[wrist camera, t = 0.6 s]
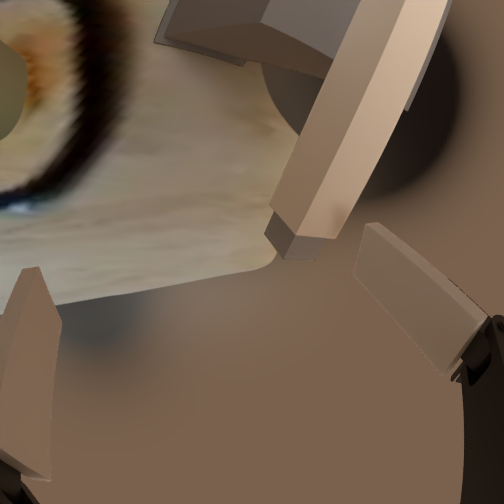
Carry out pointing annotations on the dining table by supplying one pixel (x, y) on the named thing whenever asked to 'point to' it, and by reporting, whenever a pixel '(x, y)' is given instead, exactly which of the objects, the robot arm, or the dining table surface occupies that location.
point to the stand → (268, 32)
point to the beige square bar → (351, 122)
